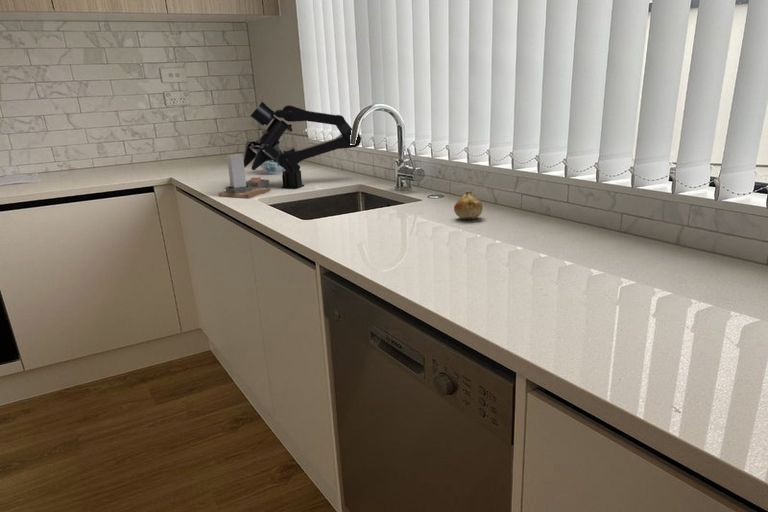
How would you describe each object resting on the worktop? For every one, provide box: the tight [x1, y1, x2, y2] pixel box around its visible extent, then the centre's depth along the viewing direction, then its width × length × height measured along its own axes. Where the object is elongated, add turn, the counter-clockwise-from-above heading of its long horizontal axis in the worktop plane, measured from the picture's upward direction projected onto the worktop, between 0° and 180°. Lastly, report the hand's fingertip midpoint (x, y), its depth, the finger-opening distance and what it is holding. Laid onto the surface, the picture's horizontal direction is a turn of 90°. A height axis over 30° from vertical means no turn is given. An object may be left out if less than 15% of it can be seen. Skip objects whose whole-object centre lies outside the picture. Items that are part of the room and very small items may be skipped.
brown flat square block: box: [218, 185, 271, 199], centre depth 207 cm, size 13×13×3 cm
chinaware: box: [259, 160, 285, 176], centre depth 250 cm, size 15×15×8 cm
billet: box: [226, 153, 247, 189], centre depth 204 cm, size 4×4×13 cm
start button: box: [249, 176, 262, 182], centre depth 219 cm, size 4×4×2 cm
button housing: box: [246, 178, 270, 188], centre depth 219 cm, size 7×7×2 cm
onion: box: [453, 189, 483, 220], centre depth 159 cm, size 8×8×8 cm
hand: (247, 168), depth 207 cm, fingers open, 9 cm apart
